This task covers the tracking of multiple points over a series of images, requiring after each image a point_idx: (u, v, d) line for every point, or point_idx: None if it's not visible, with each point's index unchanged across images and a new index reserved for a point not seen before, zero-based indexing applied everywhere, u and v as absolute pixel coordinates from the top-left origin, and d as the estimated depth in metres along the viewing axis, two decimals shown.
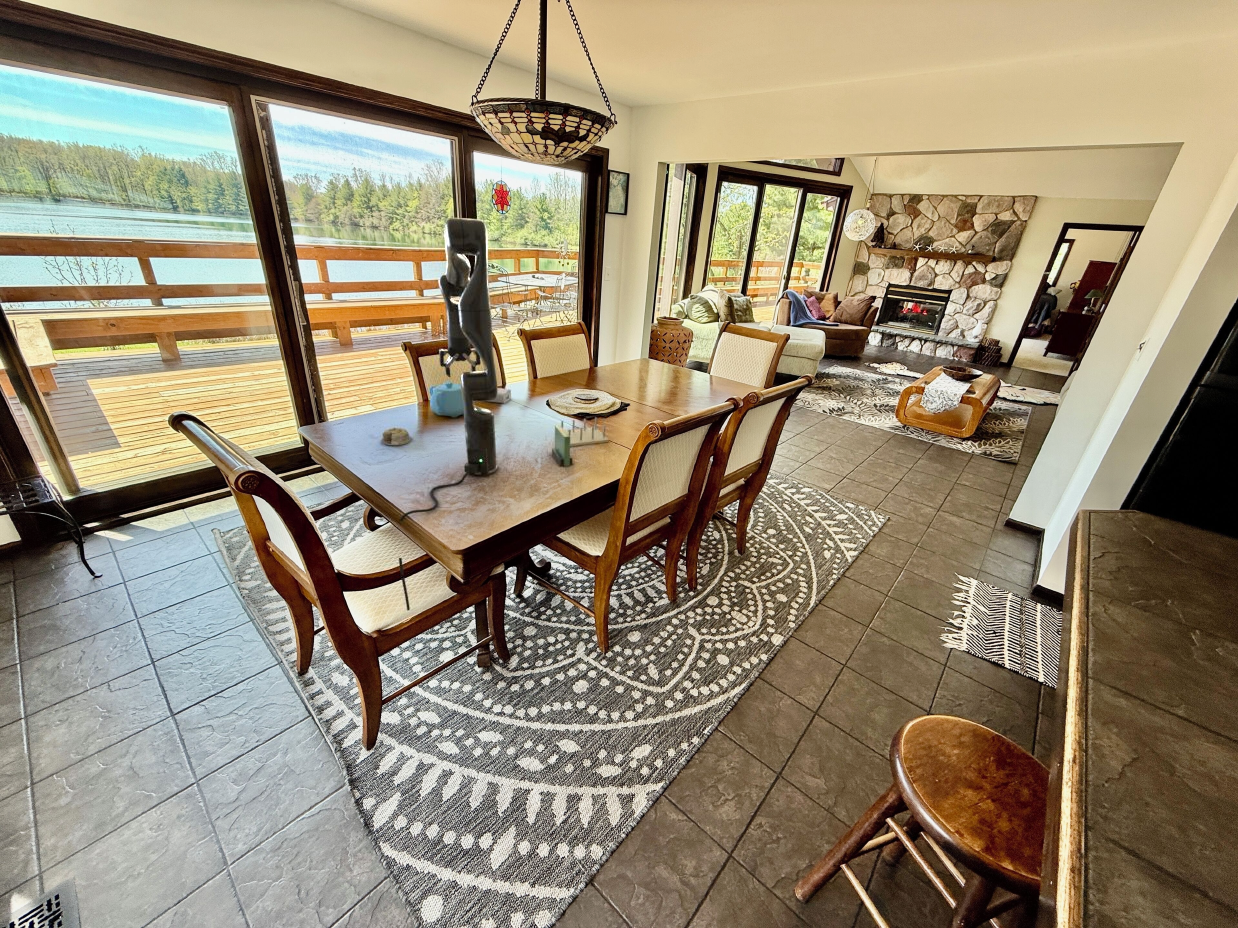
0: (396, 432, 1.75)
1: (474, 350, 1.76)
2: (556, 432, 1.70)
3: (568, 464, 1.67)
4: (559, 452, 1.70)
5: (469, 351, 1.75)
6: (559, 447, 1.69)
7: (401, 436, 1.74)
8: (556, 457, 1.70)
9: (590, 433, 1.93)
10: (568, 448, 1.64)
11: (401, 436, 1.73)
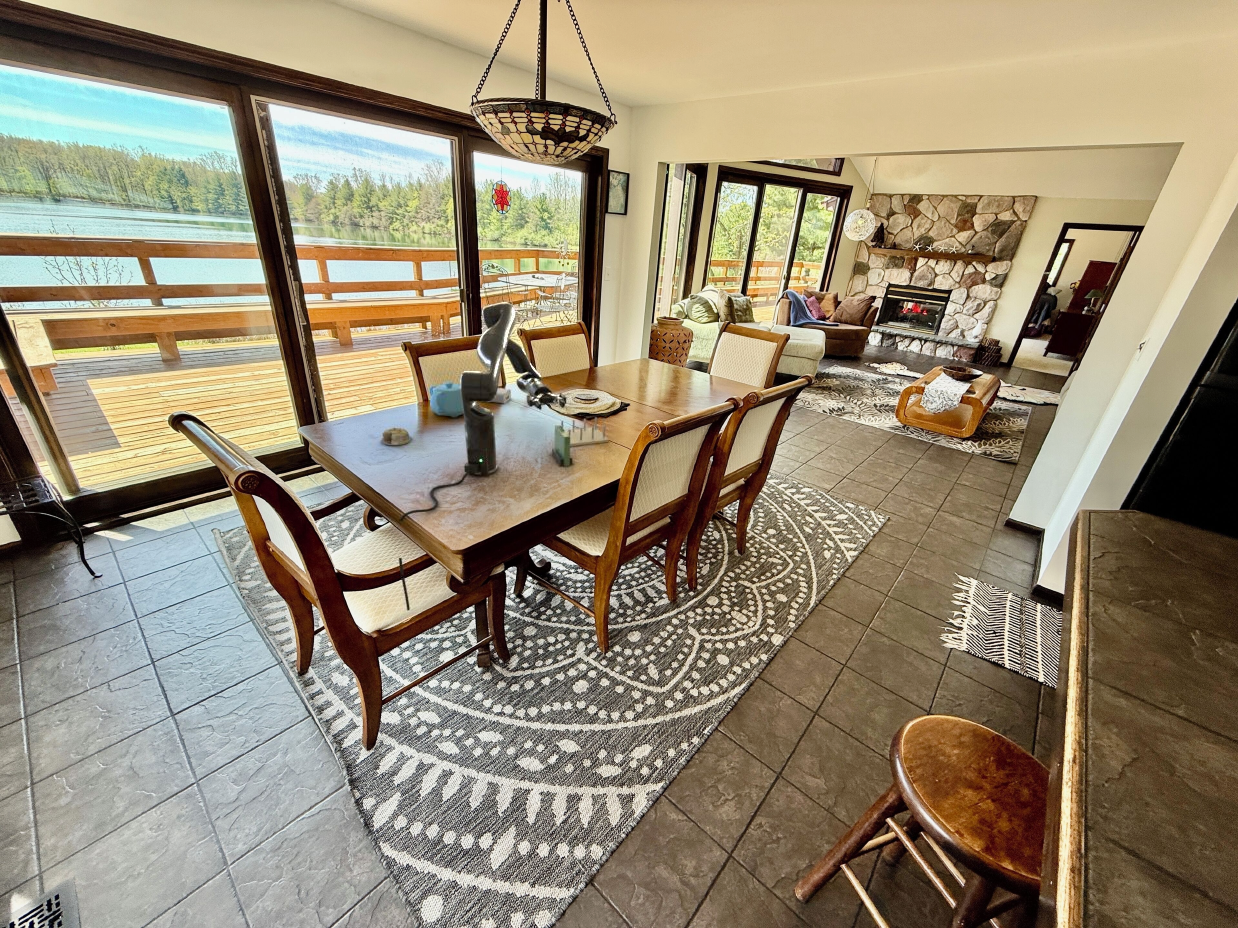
0: (396, 432, 1.75)
1: (557, 395, 1.84)
2: (556, 432, 1.70)
3: (568, 464, 1.67)
4: (559, 452, 1.70)
5: (552, 394, 1.83)
6: (559, 447, 1.69)
7: (401, 436, 1.74)
8: (556, 457, 1.70)
9: (590, 433, 1.93)
10: (568, 448, 1.64)
11: (401, 436, 1.73)
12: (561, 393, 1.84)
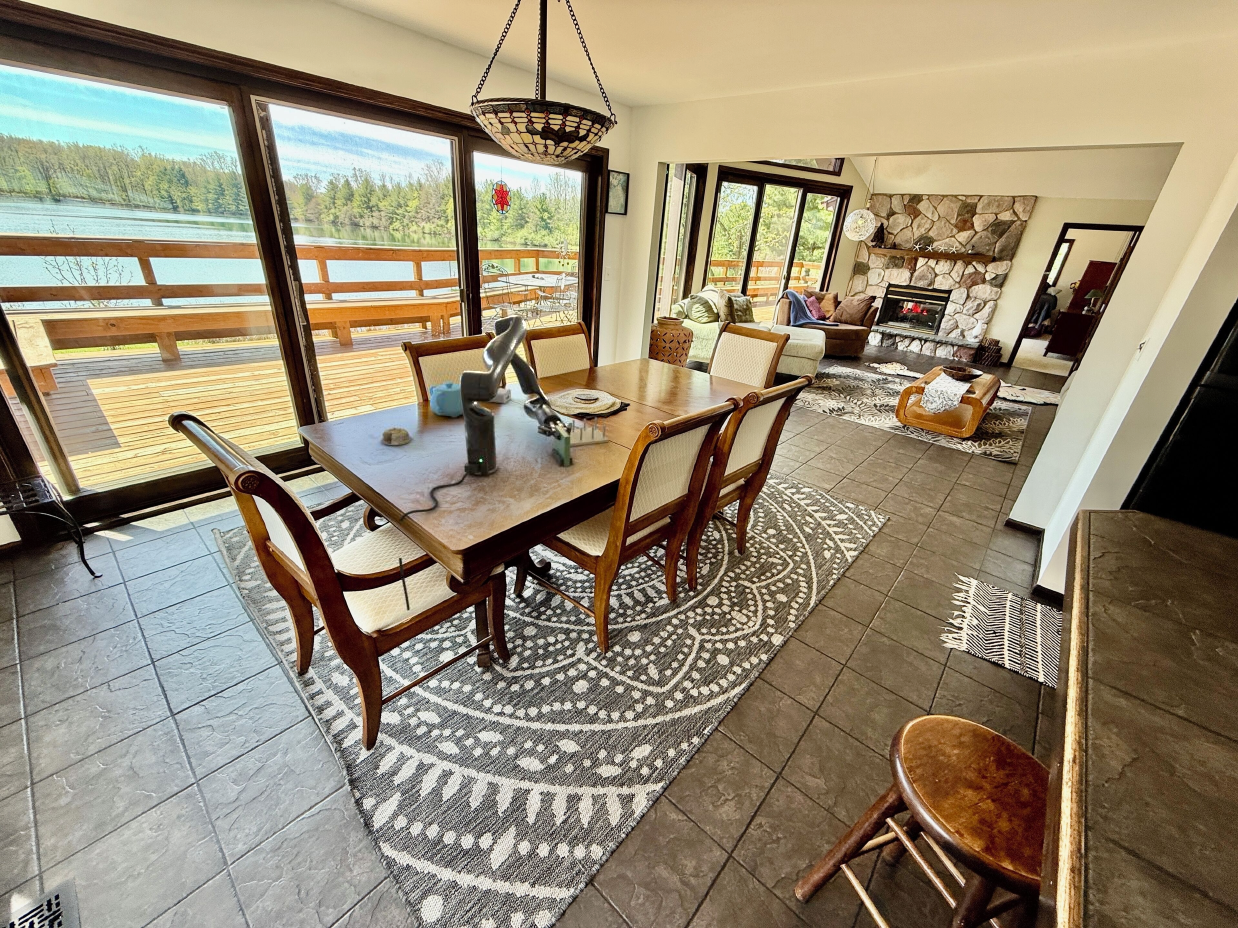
0: (396, 432, 1.75)
1: None
2: None
3: (568, 464, 1.67)
4: (559, 452, 1.70)
5: (562, 422, 1.76)
6: (559, 447, 1.69)
7: (401, 436, 1.74)
8: (556, 457, 1.70)
9: (590, 433, 1.93)
10: (568, 448, 1.64)
11: (401, 436, 1.73)
12: (571, 423, 1.76)
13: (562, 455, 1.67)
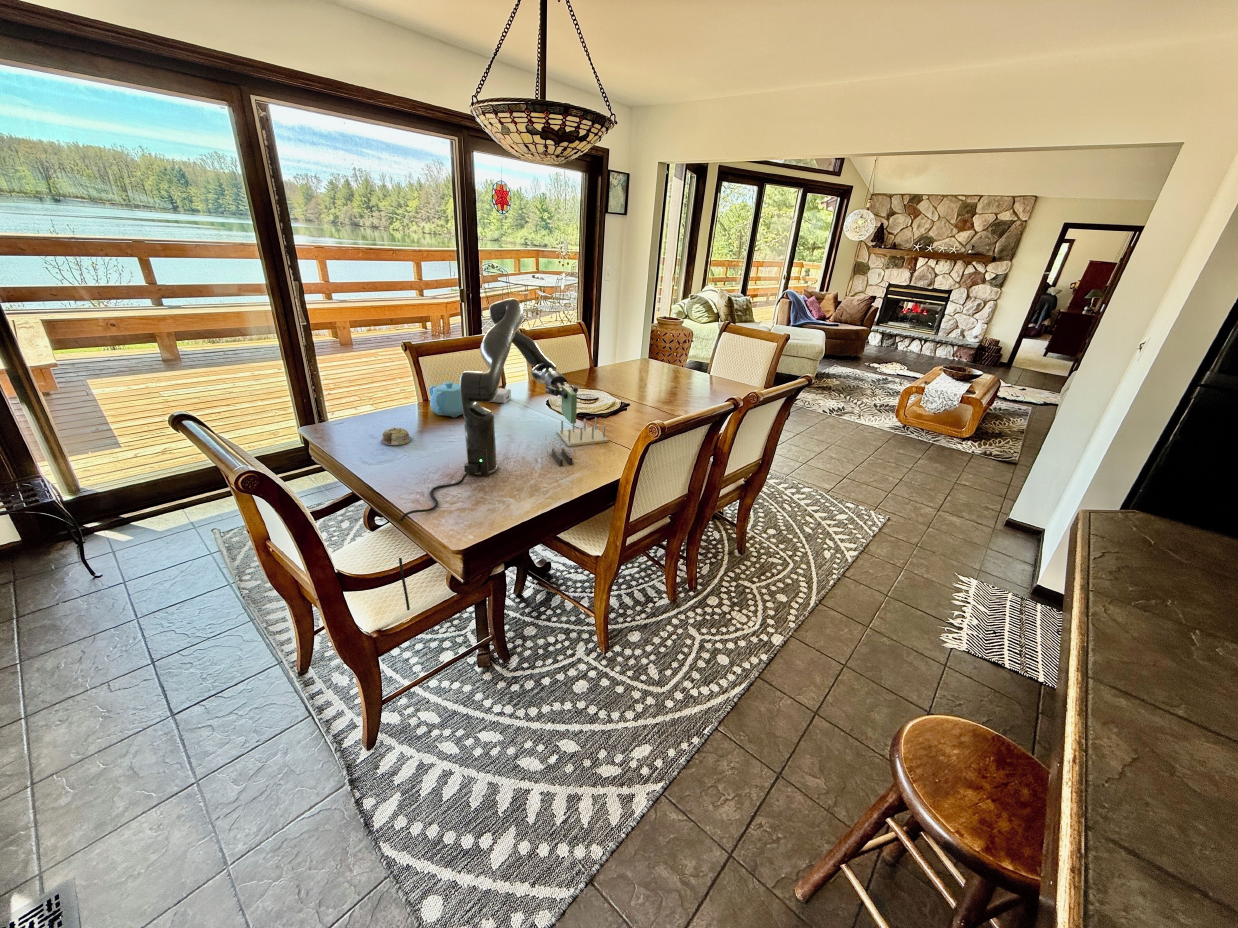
0: (396, 432, 1.75)
1: (574, 386, 1.83)
2: None
3: (575, 422, 1.74)
4: (566, 410, 1.77)
5: None
6: (566, 405, 1.76)
7: (401, 436, 1.74)
8: (556, 457, 1.70)
9: (590, 433, 1.93)
10: (575, 406, 1.71)
11: (401, 436, 1.73)
12: None
13: (569, 413, 1.74)
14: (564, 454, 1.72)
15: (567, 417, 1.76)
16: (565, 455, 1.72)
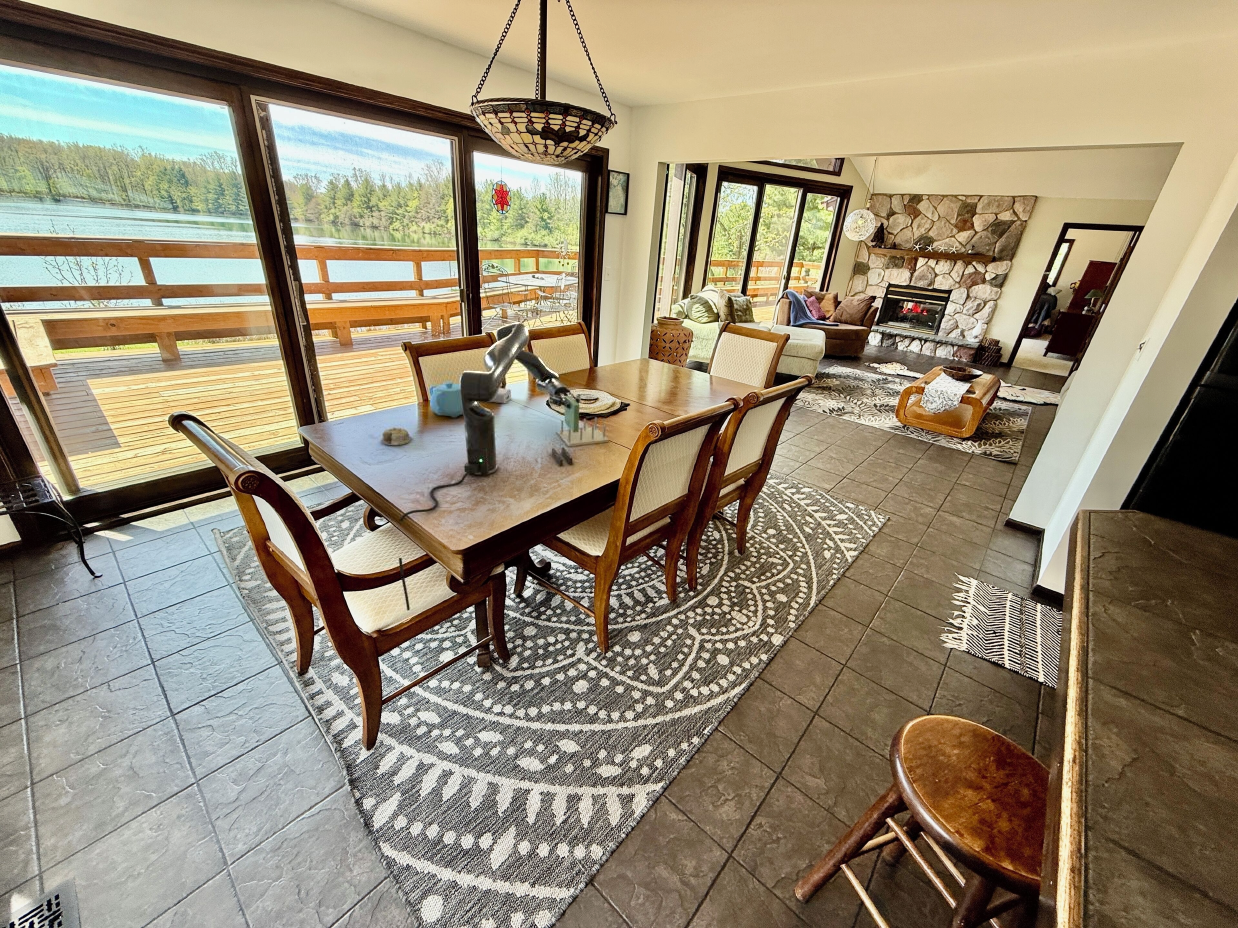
0: (396, 432, 1.75)
1: None
2: None
3: (577, 431, 1.83)
4: (569, 420, 1.86)
5: (571, 394, 1.92)
6: (568, 415, 1.85)
7: (401, 436, 1.74)
8: (556, 457, 1.70)
9: (590, 433, 1.93)
10: (577, 416, 1.80)
11: (401, 436, 1.73)
12: None
13: (572, 422, 1.83)
14: (564, 454, 1.72)
15: (570, 426, 1.85)
16: (565, 455, 1.72)
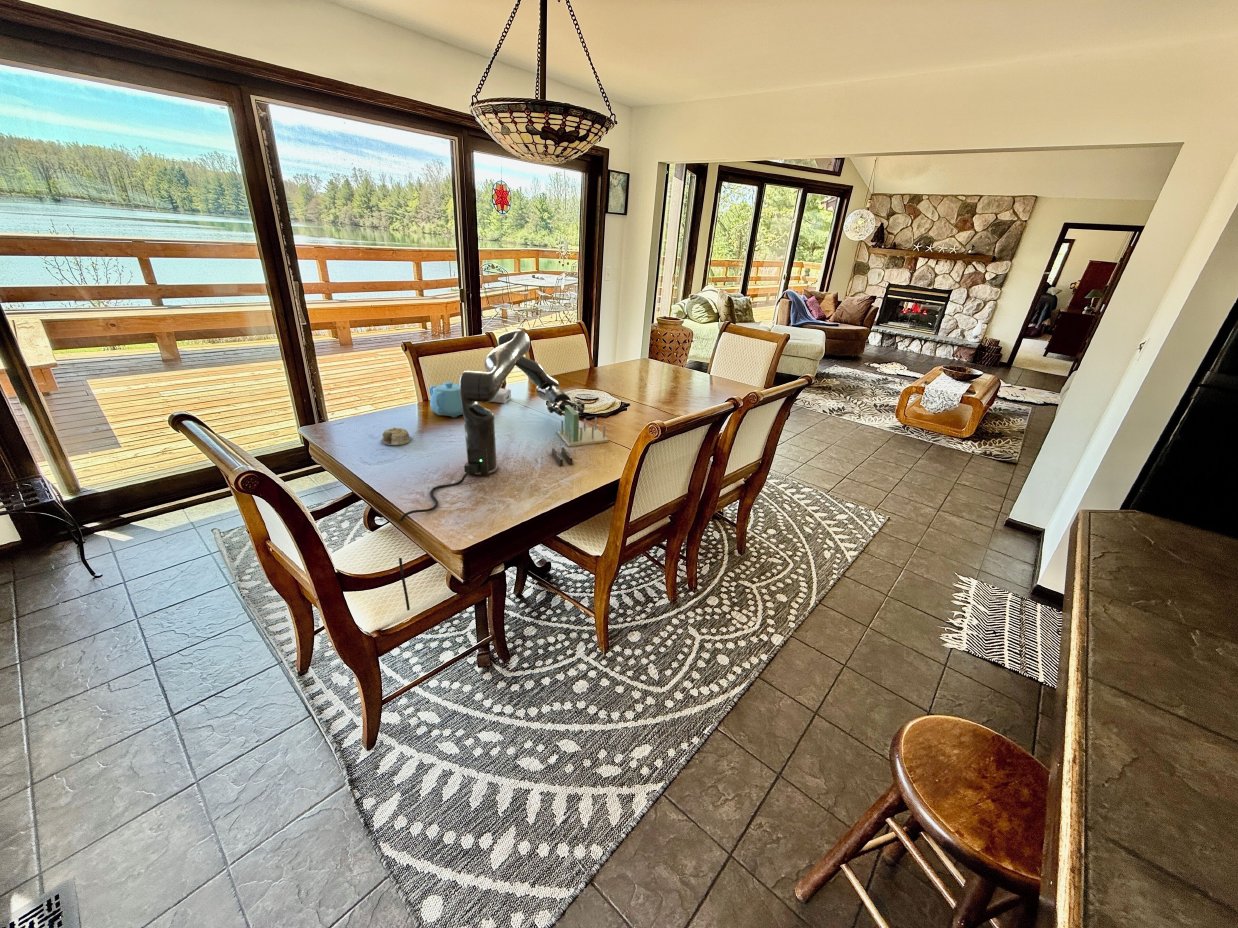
0: (396, 432, 1.75)
1: (576, 402, 1.94)
2: (566, 411, 1.87)
3: (577, 440, 1.84)
4: (568, 429, 1.87)
5: (571, 401, 1.93)
6: (568, 424, 1.87)
7: (401, 436, 1.74)
8: (556, 457, 1.70)
9: (590, 433, 1.93)
10: (577, 425, 1.82)
11: (401, 436, 1.73)
12: (579, 400, 1.95)
13: (571, 432, 1.84)
14: (564, 454, 1.72)
15: None
16: (565, 455, 1.72)
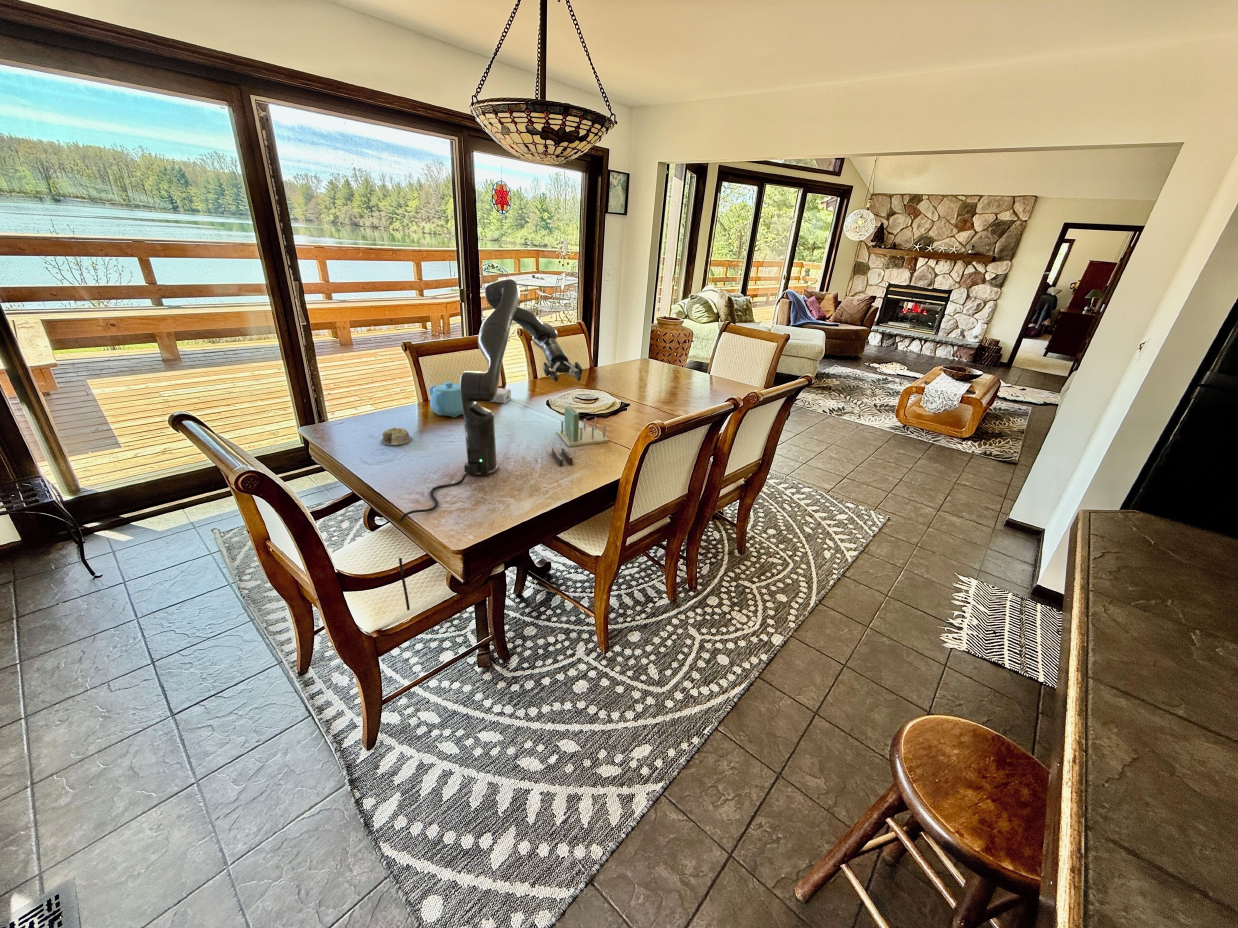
0: (396, 432, 1.75)
1: (573, 364, 1.85)
2: (566, 411, 1.87)
3: (577, 440, 1.84)
4: (568, 429, 1.87)
5: (569, 363, 1.84)
6: (568, 424, 1.87)
7: (401, 436, 1.74)
8: (556, 457, 1.70)
9: (590, 433, 1.93)
10: (577, 425, 1.82)
11: (401, 436, 1.73)
12: (577, 362, 1.85)
13: (571, 432, 1.84)
14: (564, 454, 1.72)
15: None
16: (565, 455, 1.72)
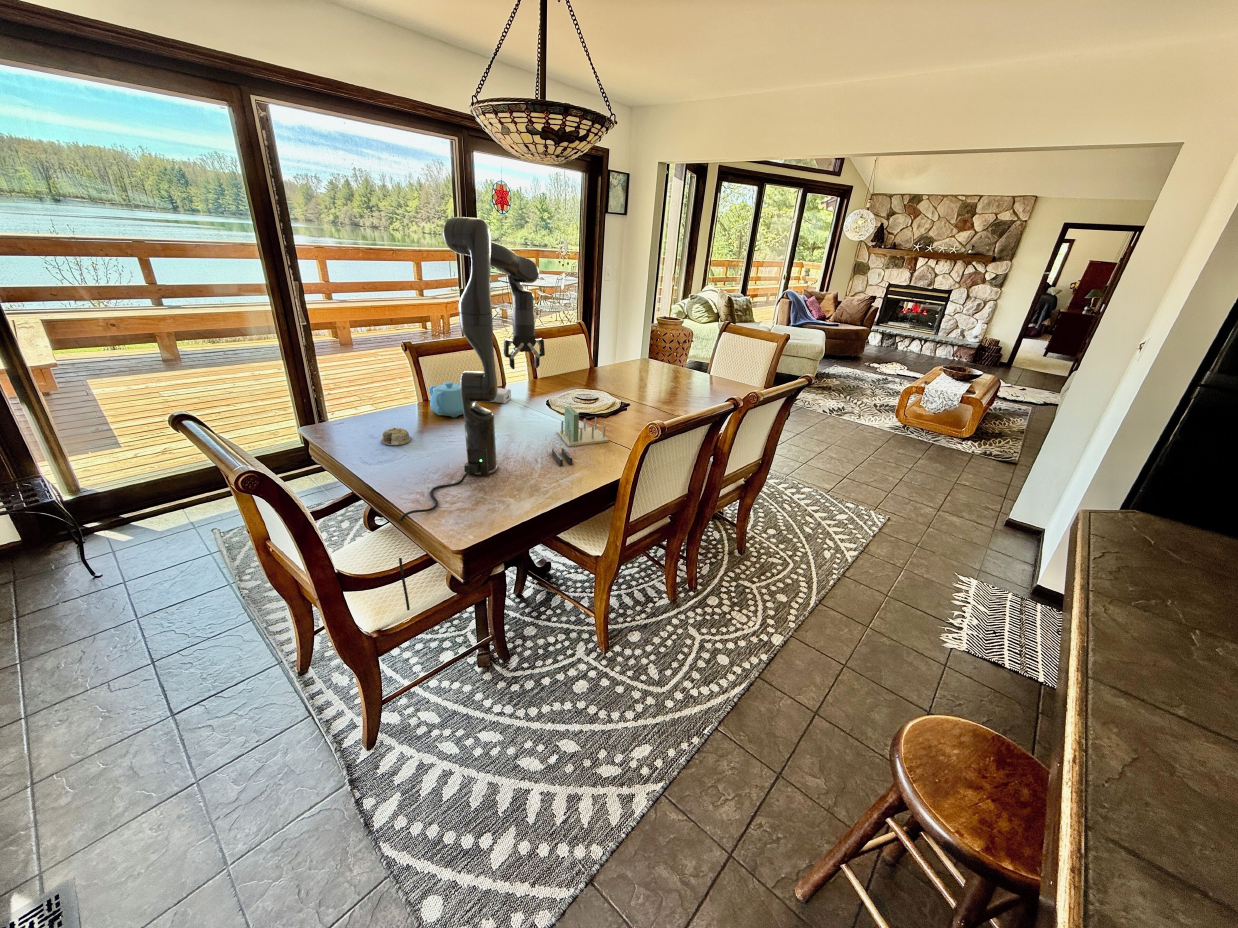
0: (396, 432, 1.75)
1: (538, 340, 1.71)
2: (566, 411, 1.87)
3: (577, 440, 1.84)
4: (568, 429, 1.87)
5: (534, 341, 1.70)
6: (568, 424, 1.87)
7: (401, 436, 1.74)
8: (556, 457, 1.70)
9: (590, 433, 1.93)
10: (577, 425, 1.82)
11: (401, 436, 1.73)
12: (543, 341, 1.71)
13: (571, 432, 1.84)
14: (564, 454, 1.72)
15: None
16: (565, 455, 1.72)
